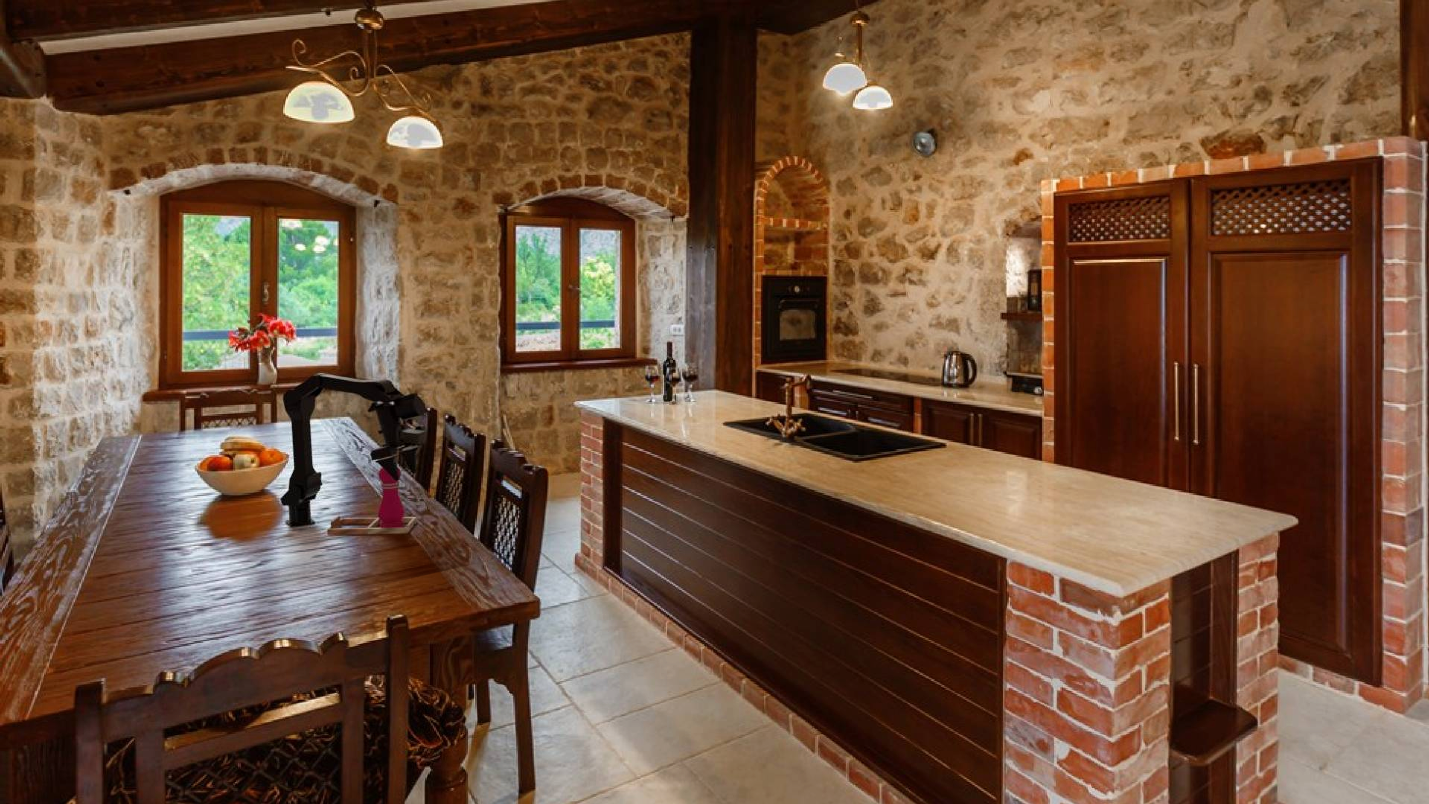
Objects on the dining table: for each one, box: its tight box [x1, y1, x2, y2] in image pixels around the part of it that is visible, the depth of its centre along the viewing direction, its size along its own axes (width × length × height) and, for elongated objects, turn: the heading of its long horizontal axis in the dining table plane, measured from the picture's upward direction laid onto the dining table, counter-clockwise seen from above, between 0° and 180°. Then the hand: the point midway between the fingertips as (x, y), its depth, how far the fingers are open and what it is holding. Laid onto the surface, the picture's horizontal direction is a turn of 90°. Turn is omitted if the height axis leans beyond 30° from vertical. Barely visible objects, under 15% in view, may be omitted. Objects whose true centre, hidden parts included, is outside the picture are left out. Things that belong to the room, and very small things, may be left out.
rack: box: [326, 515, 418, 536], centre depth 234 cm, size 21×11×3 cm, turn 96°
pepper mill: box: [377, 466, 406, 528], centre depth 233 cm, size 7×7×20 cm
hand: (406, 476), depth 231 cm, fingers open, 9 cm apart
